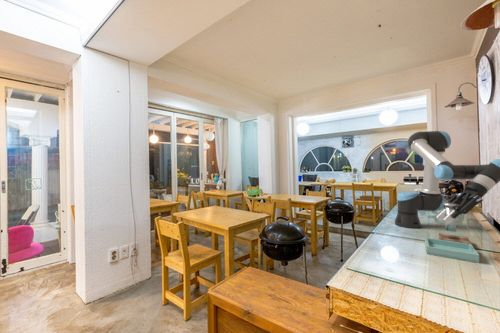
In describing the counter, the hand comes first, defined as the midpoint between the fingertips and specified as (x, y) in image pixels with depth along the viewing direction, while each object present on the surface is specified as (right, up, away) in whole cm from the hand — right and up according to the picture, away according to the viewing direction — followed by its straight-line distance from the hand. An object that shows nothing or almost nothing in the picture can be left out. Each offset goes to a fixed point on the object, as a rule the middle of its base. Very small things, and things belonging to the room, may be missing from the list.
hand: (442, 220), depth 111 cm
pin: (+4, -5, 0) cm, 6 cm away
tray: (+4, -16, +1) cm, 16 cm away
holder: (+17, -15, +12) cm, 26 cm away
